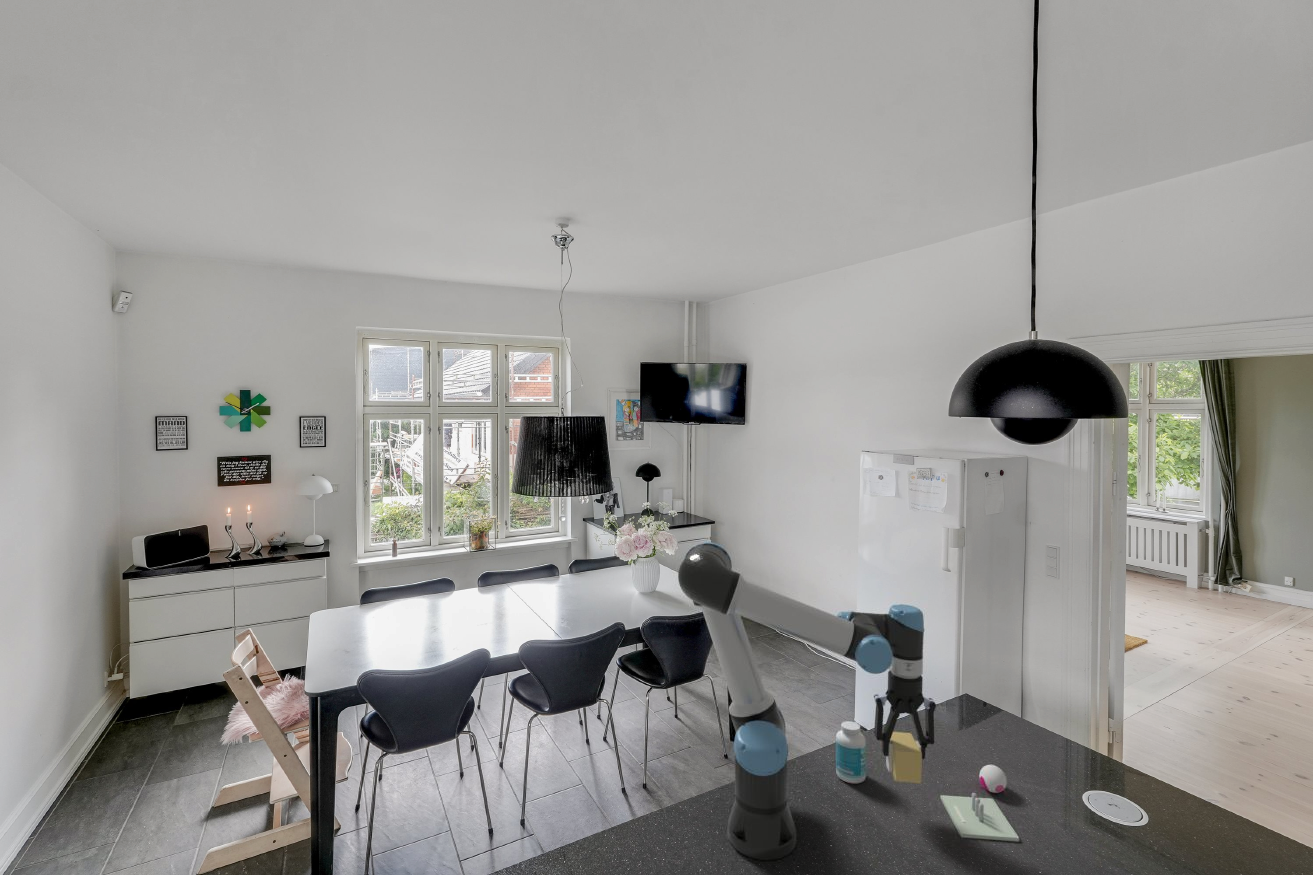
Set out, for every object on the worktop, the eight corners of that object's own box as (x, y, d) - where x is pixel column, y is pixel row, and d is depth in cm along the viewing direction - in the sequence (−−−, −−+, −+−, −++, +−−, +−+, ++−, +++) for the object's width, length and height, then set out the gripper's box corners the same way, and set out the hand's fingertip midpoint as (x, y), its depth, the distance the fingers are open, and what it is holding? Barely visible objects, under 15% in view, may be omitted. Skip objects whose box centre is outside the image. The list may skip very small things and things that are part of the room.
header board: (961, 836, 134) (961, 816, 134) (940, 798, 148) (940, 779, 148) (1019, 841, 132) (1019, 820, 132) (992, 801, 146) (992, 783, 146)
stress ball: (982, 792, 155) (965, 768, 156) (1011, 780, 153) (994, 755, 154) (986, 809, 148) (969, 783, 149) (1017, 796, 146) (999, 770, 147)
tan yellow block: (895, 781, 138) (896, 750, 138) (886, 759, 147) (886, 731, 147) (921, 783, 137) (921, 752, 137) (910, 761, 146) (910, 733, 146)
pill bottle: (867, 786, 153) (867, 733, 153) (837, 783, 154) (837, 731, 154) (863, 769, 160) (863, 719, 160) (834, 766, 162) (834, 717, 162)
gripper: (867, 676, 139) (865, 775, 140) (952, 682, 136) (950, 782, 137) (860, 663, 146) (859, 757, 147) (941, 668, 144) (939, 764, 145)
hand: (903, 769), depth 142 cm, fingers closed on tan yellow block, 6 cm apart
